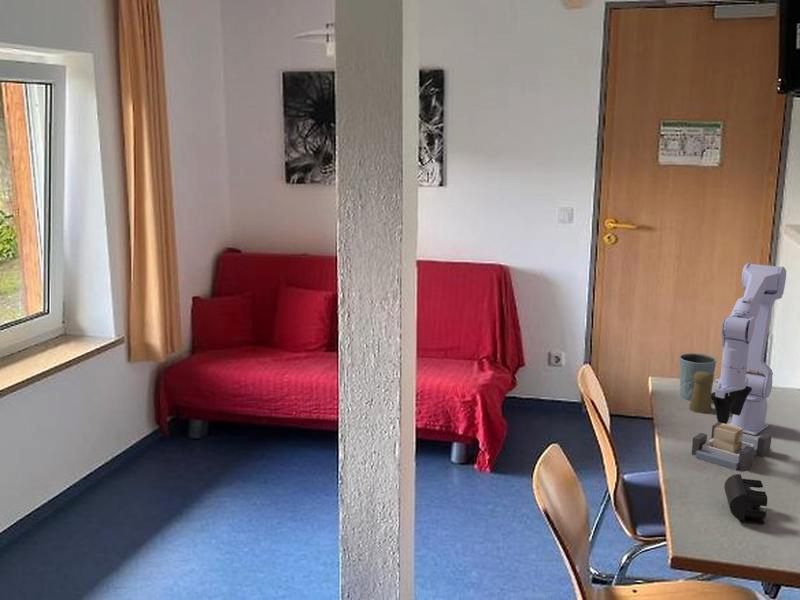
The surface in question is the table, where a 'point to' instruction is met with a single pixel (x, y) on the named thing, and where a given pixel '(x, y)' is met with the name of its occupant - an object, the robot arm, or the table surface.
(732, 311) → the robot arm
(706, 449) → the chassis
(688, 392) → the grey-green cup
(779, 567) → the table surface
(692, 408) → the cork
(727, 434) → the block
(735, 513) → the end cap
